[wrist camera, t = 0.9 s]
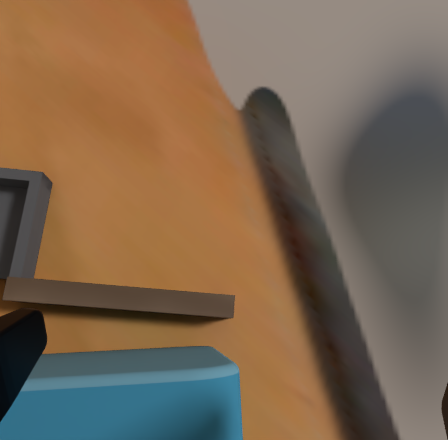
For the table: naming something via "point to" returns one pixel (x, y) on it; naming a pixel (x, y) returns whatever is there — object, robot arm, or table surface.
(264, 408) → the table surface
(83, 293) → the lane rails
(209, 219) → the table surface
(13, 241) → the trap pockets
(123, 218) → the table surface
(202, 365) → the blue rounded slab
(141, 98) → the table surface
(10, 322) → the robot arm
